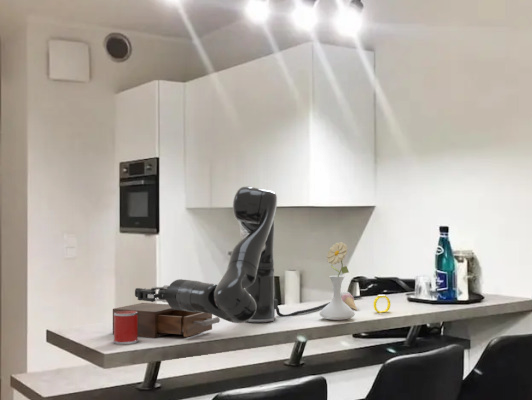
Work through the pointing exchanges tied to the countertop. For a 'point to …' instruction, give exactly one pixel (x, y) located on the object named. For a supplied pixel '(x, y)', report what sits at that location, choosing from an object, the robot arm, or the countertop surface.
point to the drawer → (185, 322)
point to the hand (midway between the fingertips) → (150, 291)
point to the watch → (376, 302)
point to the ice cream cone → (348, 299)
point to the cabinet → (146, 317)
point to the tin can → (125, 327)
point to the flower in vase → (337, 286)
